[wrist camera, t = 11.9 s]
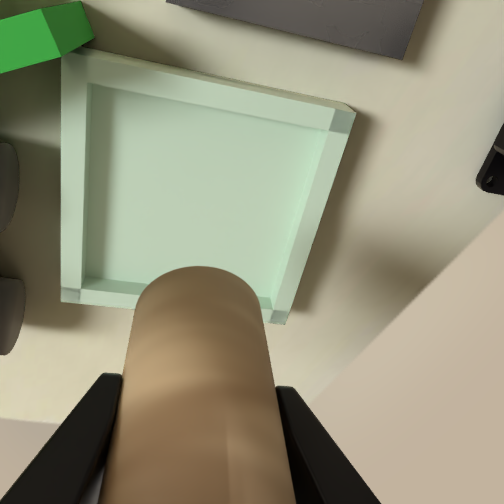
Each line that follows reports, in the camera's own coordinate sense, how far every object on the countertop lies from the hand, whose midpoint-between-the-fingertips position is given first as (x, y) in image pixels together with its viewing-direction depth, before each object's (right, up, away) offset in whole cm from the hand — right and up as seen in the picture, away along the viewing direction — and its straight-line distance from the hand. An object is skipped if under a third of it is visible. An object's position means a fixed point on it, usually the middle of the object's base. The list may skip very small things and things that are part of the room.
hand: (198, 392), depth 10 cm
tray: (-1, +5, +9) cm, 10 cm away
